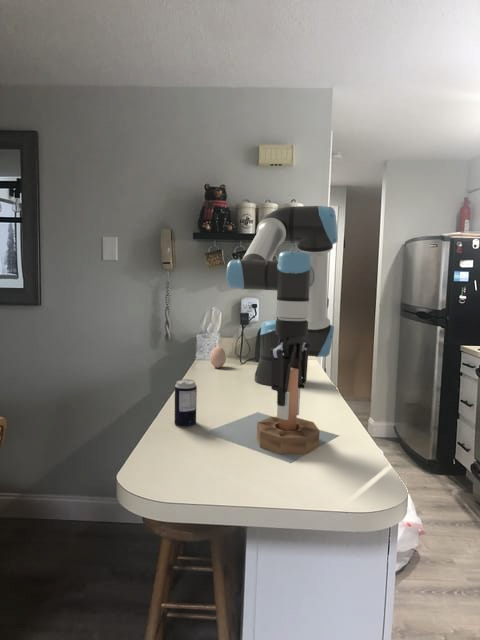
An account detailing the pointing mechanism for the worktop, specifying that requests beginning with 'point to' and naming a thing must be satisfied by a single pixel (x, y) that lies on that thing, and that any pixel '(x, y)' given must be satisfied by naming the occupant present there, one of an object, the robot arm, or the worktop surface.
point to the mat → (246, 435)
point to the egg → (218, 357)
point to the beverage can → (185, 403)
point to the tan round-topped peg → (291, 402)
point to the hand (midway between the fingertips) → (288, 415)
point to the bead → (287, 437)
